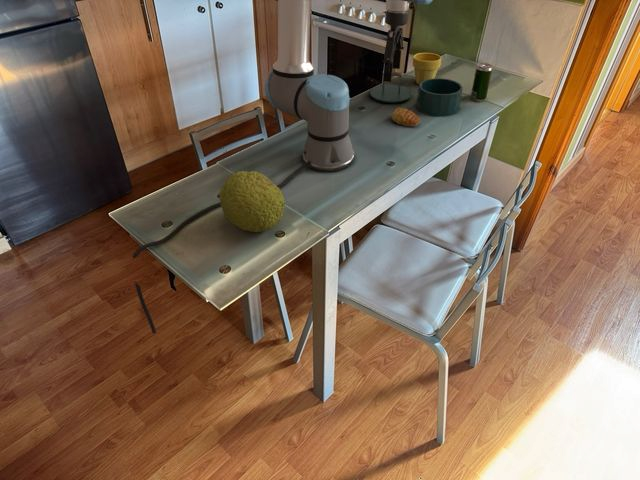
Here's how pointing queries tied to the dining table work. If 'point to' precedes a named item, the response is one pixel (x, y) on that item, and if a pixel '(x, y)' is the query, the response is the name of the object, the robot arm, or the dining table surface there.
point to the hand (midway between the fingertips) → (391, 74)
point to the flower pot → (425, 66)
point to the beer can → (481, 82)
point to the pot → (439, 97)
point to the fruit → (251, 201)
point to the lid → (391, 92)
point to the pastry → (405, 117)
